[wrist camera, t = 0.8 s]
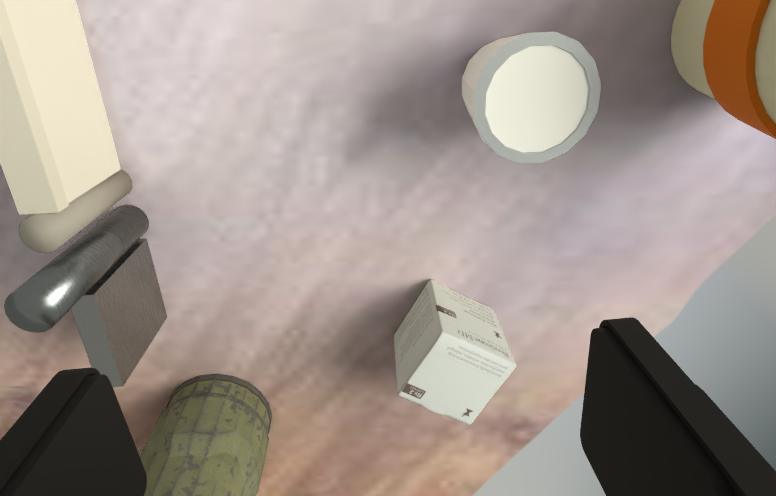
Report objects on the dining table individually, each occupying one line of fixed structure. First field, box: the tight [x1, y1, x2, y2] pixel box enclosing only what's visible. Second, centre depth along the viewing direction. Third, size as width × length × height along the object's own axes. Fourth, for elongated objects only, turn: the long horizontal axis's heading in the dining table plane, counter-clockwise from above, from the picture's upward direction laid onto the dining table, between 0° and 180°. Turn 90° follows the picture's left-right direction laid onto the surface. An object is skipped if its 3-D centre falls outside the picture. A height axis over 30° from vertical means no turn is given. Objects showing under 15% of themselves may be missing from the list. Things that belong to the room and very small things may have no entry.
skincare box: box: [394, 280, 516, 425], centre depth 37 cm, size 6×6×7 cm
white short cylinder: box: [462, 32, 601, 164], centre depth 30 cm, size 7×7×7 cm
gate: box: [0, 0, 132, 253], centre depth 26 cm, size 20×2×9 cm, turn 2°
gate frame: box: [4, 205, 167, 387], centre depth 25 cm, size 42×2×12 cm, turn 2°
